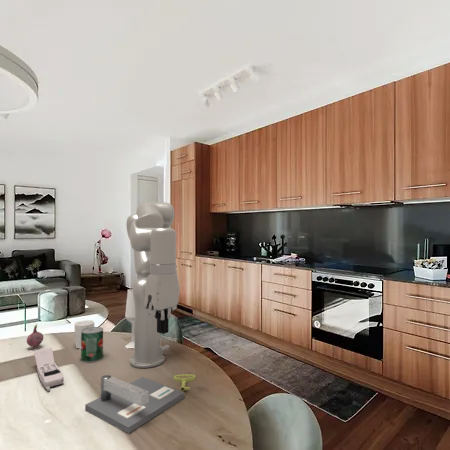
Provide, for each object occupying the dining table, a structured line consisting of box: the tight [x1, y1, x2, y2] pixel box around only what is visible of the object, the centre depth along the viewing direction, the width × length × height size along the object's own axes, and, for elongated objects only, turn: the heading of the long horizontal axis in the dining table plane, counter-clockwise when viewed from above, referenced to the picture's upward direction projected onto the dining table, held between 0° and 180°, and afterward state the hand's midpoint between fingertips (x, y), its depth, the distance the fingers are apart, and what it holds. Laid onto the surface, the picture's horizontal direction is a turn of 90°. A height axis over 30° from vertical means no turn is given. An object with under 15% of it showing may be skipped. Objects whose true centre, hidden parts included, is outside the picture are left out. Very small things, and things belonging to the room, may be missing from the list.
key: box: [173, 373, 197, 392], centre depth 100 cm, size 7×12×2 cm, turn 22°
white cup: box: [74, 319, 95, 350], centre depth 133 cm, size 8×8×10 cm
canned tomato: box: [80, 326, 104, 364], centre depth 120 cm, size 8×8×11 cm
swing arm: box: [100, 374, 149, 406], centre depth 84 cm, size 3×17×6 cm, turn 56°
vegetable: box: [26, 324, 44, 349], centre depth 131 cm, size 6×6×10 cm
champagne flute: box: [124, 288, 135, 349], centre depth 134 cm, size 7×7×24 cm
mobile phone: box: [33, 346, 65, 392], centre depth 105 cm, size 6×6×25 cm
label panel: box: [84, 376, 185, 434], centre depth 88 cm, size 20×18×2 cm
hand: (162, 332), depth 91 cm, fingers closed
